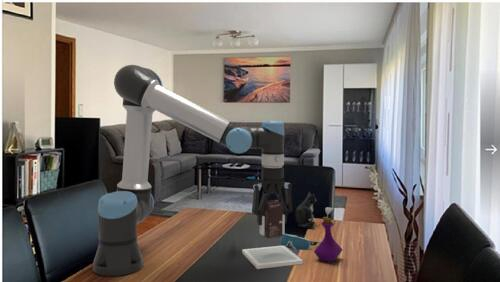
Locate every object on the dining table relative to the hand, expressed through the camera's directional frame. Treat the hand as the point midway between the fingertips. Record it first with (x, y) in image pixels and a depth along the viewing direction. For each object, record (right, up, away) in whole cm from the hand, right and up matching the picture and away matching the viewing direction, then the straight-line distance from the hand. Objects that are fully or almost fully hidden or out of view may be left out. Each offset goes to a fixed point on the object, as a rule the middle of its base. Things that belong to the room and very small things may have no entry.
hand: (272, 233), depth 143 cm
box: (0, -1, 0) cm, 1 cm away
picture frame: (0, -9, +1) cm, 9 cm away
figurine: (+17, -6, +40) cm, 44 cm away
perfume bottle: (+19, -9, 0) cm, 21 cm away
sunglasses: (+12, -8, +17) cm, 23 cm away
